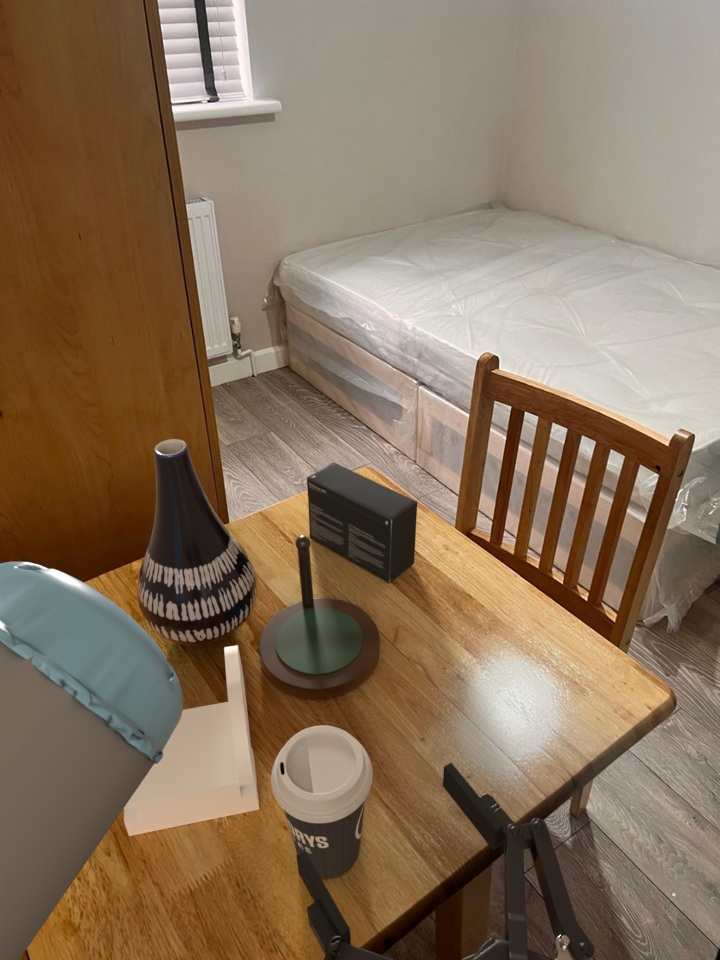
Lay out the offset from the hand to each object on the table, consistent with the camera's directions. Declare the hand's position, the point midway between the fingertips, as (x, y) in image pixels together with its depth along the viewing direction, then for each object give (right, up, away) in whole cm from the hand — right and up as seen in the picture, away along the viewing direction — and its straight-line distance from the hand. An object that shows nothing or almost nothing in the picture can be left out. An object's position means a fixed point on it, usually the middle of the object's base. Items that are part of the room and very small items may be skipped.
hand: (377, 815), depth 58 cm
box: (-1, +15, +57) cm, 59 cm away
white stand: (-20, -8, +24) cm, 32 cm away
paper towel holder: (-7, +3, +40) cm, 41 cm away
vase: (-23, +6, +45) cm, 51 cm away
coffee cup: (-5, -12, +18) cm, 22 cm away
